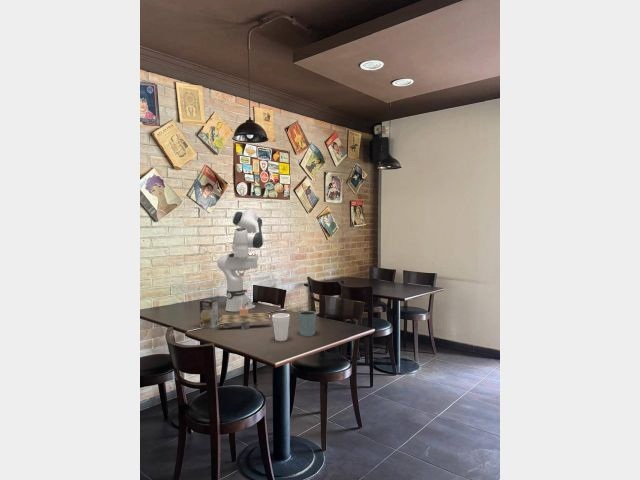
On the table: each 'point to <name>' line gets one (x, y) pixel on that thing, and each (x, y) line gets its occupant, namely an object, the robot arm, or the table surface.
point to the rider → (243, 311)
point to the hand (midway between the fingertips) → (241, 276)
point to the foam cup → (281, 326)
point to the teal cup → (307, 323)
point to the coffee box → (208, 313)
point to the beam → (243, 319)
